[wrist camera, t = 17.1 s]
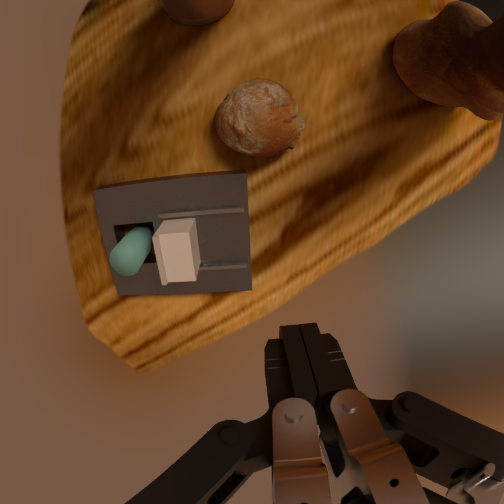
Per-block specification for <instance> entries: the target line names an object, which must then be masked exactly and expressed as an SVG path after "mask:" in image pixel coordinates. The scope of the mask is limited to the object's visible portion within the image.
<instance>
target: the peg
mask: <svg viewBox="0 0 504 504" xmlns="http://www.w3.org/2000/svg"><path fill="white" fill-rule="evenodd" d="M154 234H155V232H154V228H153V227H152V226H151V225H149V224H147V223H138V224H136V225H135V226H134V227H133V228H132V229H131V230H130V231H129V232H128V233H127V234H126V235H125V236H124V237H123V239H122V240H121V241H120V242H119V243H118V244H117V245H116V246H115V247H114V249H113V250H112V251H111V253H110V263H111V266H112V267H113V269H114V270H115V271H116V272H117V273H119V274H121V275H123V276H132V275H134V274H136V273H137V272H138V270H139V268H140V267H141V265H142V264H143V262H144V260H145V259H146V257H147V255H148V254H149V252H150V251H151V249H152V247H153V246H154V245H153V239H152V236H153V235H154Z"/></svg>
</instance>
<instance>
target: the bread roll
mask: <svg viewBox="0 0 504 504" xmlns="http://www.w3.org/2000/svg"><path fill="white" fill-rule="evenodd" d="M227 95H228V96H227V97H226V98H225V99H224V101H223V102H222V103H221V104H220V105H219V107H218V108H217V111H216V114H215V120H214V121H215V128H216V131H217V134H218V136H219V137H220V139H221V140H222V141H223V143H224V144H225V145H227V146H228V147H230V148H231V149H233V150H235V151H237V152H240V153H242V154H245V155H247V156H251V157H255V158H269V157H276V156H279V155H281V154H282V153H283V152H285V150H286V149H288V148H289V149H293V148H294V145H295V143H296V141H297V140H298V139H299V137H300V132H301V131H302V130H303V129H304V124H305V122H304V120H303V119H301V118H300V117H299V114H298V103H297V102H296V100H295V99H294V98H293V97H292V96H291V94H290V93H289V91H288V90H286V89H285V88H284V87H283V86H282V85H280V84H278V83H276V82H274V81H271V80H267V79H254V80H250V81H248V82H245V83H243V84H241V85H239V86H238V87H237V88H235V89H232V90H231V91H230V92H229V93H228V94H227Z"/></svg>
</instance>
